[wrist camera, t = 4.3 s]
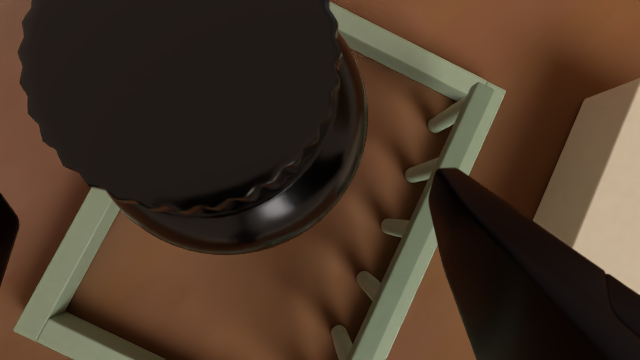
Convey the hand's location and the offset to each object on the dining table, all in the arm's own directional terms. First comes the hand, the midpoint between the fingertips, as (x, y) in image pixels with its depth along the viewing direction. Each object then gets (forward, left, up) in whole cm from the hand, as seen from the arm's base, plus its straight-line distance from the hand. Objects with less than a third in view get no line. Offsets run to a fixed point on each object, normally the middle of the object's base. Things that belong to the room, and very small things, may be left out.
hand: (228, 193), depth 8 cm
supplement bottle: (+2, +1, -9) cm, 10 cm away
